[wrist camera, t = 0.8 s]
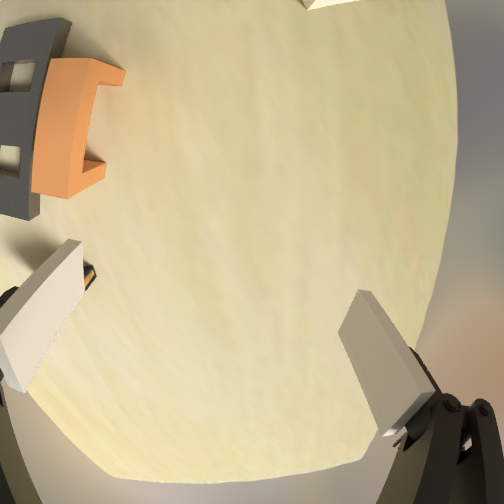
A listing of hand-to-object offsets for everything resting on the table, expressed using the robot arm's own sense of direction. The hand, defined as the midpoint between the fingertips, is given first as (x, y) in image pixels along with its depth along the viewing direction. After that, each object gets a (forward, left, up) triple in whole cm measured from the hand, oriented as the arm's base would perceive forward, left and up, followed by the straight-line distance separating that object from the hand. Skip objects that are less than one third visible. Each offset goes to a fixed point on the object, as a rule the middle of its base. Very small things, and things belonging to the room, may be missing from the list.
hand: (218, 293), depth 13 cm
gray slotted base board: (-4, -32, -25) cm, 41 cm away
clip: (-4, -18, -25) cm, 31 cm away
